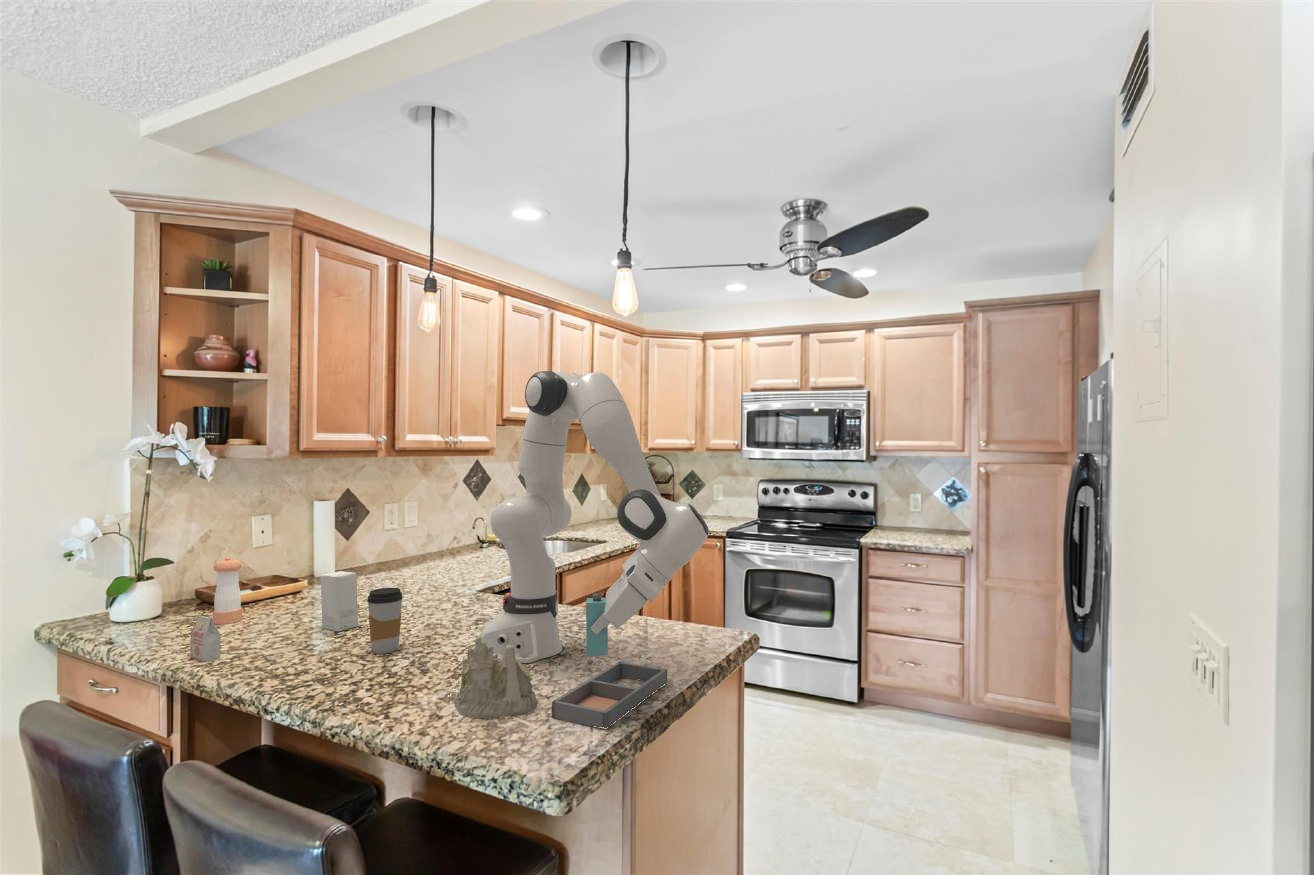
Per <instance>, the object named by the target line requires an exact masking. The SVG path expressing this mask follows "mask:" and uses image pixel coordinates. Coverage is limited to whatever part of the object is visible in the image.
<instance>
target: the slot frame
mask: <svg viewBox="0 0 1314 875" xmlns="http://www.w3.org/2000/svg"><path fill="white" fill-rule="evenodd" d="M624 677H627V678H626V679H630V678H631V680H635V679H640V680H639V681H641V680H644V681H643V682H644V683H642V684H640V685H639V686H637V687H633V686H627V685H622V684H617V683H613V682H614V681H616V680H617V679H619V678H624ZM666 683H667V684H668V669H665V668H659V667H653V666H647V665H642V664H635V663H629V662H625V661H618V662H616V663H614V664H612V665H611V666H609V667H608V668H605V669H604V670H603V671H601V672H599V673H598V674H596V675H595V676H592V677H591V678H589V679H587V680H586V681H584V682H583V683H581V684H579V685H577V686H575V687H573V688H572V689H570V690H569V691H567V692H566V693H564V694H562V695H561V696H559V697H558V698H556V699H554V700H552V701H551V718H552V719H557V720H559V721H560V720H561V721H565V722H569V723H573V722H574V724H578V723H579V724H578V725H582V724H586V725H585V726H587V725H589V726H588V727H591V726H596V727H604V728H607V727H609V726H610V725H611V724H613V723H614V722H615V721H617V720H618V719H619V718H621V717H622V716H623V715H625V714H626V713H627V712H628V711H630V710H631V709H632V708H634V707H635V706H637V705H638V704H639V703H640V702H642V701H643V700H644V699H646V697H648V696H649V695H651V694H652V693H653V692H655V691H656V690H658V689H659V688H660V687H661V686H663V685H664V684H666ZM667 684H666V685H667ZM658 691H659V690H658ZM646 700H647V699H646ZM642 703H643V702H642ZM638 706H639V705H638ZM638 706H637V707H638ZM625 716H626V715H625ZM621 719H622V718H621ZM617 722H618V721H617ZM613 725H614V724H613ZM596 727H595V728H596ZM609 728H610V727H609Z"/></svg>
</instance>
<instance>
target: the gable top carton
mask: <svg viewBox="0 0 1314 875" xmlns="http://www.w3.org/2000/svg"><path fill="white" fill-rule="evenodd" d="M189 651H190V658H191V659H193V660H196V661H199V662H201V663H205V662H209V661H213V660H217V659H220V658H221V633H220V631H219V629H218V628H217V626H216V624H214V622H213V618H210V617H208V616H203V615H197V618H196V621H195V624H194V625H193V627H192V629H191V631H190V650H189Z"/></svg>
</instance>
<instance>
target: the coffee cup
mask: <svg viewBox="0 0 1314 875" xmlns="http://www.w3.org/2000/svg"><path fill="white" fill-rule="evenodd" d="M401 590H402V589H400V588H399V587H382V588H381V587H380V588H376V589H373V590H370V591H369V594H368V596H367V600H366V601H367V602H366V603H367V605H368V622H369V636H370V645H371V646H370V647H371V651H372V653H373V654H379V655H380V654H383V655H384V654H389V653H394V652H395V651H397V650H398V648H399V647H400V646H399V645H400V636H401V623H402V605H403V604H402V603H403V602H402V601H403V593H402V591H401Z"/></svg>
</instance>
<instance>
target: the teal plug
mask: <svg viewBox="0 0 1314 875" xmlns="http://www.w3.org/2000/svg"><path fill="white" fill-rule="evenodd" d="M606 602H607V598H606V597H602V594H601V593H598V592H597V593H595V592H594V593H592V598H591V597H587V598H586V602H585V623H586V624H585V626H586V628H585V629H586V630H585V633H586V637H585V640H586V657H590V656H591V657H593V656H596V657H597V656H609V655H608V654H609V625H607V626H606V627H605V628H603V629H602V630H601V631H600V632H599V633H598V634H595V633H594V632H593V631H592V630H591V625H592V624H593V623H594V622H595V621H596V620H598V619H599V618H600V617H601V616H602V614H603V613H604V608H605V604H606Z"/></svg>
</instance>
